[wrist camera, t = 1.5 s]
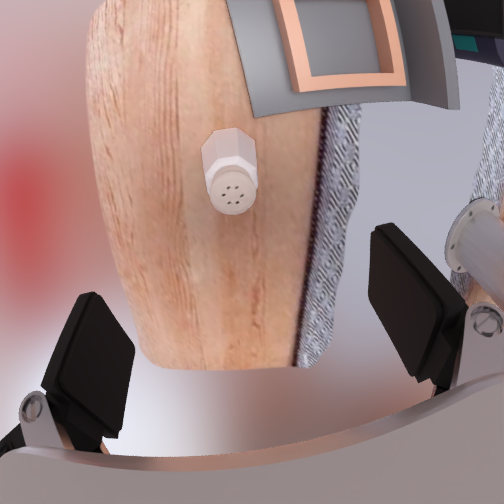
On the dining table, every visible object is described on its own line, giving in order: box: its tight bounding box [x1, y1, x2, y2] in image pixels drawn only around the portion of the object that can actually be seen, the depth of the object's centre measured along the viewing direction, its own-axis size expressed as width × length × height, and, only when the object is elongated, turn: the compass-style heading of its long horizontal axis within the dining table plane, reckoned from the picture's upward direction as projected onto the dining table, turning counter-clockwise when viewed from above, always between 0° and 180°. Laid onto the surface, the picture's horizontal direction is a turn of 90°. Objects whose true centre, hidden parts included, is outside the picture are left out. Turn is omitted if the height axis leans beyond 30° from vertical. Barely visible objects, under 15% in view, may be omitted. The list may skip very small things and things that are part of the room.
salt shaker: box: [201, 127, 258, 215], centre depth 21 cm, size 5×5×11 cm
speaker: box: [443, 0, 504, 67], centre depth 15 cm, size 8×6×10 cm
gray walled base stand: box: [226, 0, 460, 118], centre depth 17 cm, size 18×14×7 cm
